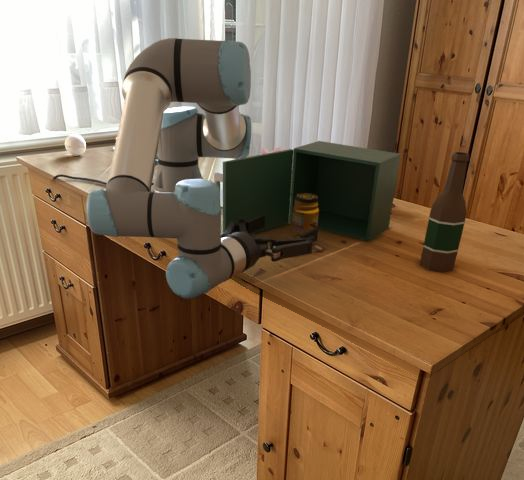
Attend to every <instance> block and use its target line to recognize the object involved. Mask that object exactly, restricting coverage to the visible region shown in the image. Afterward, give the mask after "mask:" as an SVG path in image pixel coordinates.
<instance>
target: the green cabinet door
mask: <svg viewBox="0 0 524 480" xmlns="http://www.w3.org/2000/svg"><path fill="white" fill-rule="evenodd" d="M293 152H294V149H292V148H289V149H284V150H283V149H282V151H278V152H272V153H270V152H269V153H267V154H262V155H261V154H257V155H256V154H255V155H252V156H247V157H246V158H240V159H230V160H225V161H224V160H223V161H222V173H220V172H214V173H213V182H214V183H215V184H216V185H217V186H218V187H219V190H220V191H221V183H222V206H221V216H222V233H224V232H225V231H226V229H227V227H228V225H229V224H230V222H231V221H236V223H237V224H239V219H241V218H242V219H245V222H246V221H249V220H251V219H253V218H256V217H258V216H260V215H265V227H263V228H261V229H259V230H257V231H255V232H253V233H250V234H249V235H250V236H254V235H255V234H258V233H263V232H266V231H268V230H272V229H275V228H278V227H281V226H284V225H287V224H289V223H290V222H289V213H290V198H291V182H292V167H293Z"/></svg>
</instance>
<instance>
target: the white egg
mask: <svg viewBox="0 0 524 480" xmlns="http://www.w3.org/2000/svg"><path fill="white" fill-rule="evenodd" d="M64 148H65V150H66V152H67V153H68V154H70V155H71V156H74V157H80V156H82V155H83V154H84V153H85V152H86V149H87V144H86V141H85V139H84V138H83V137H82V136H81V135H79V134H76V133H75V134H74V133H73V134H69V135H68V136H67V137H66V138H65V140H64Z"/></svg>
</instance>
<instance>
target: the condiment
mask: <svg viewBox="0 0 524 480" xmlns="http://www.w3.org/2000/svg"><path fill="white" fill-rule="evenodd" d="M294 204H295V205H294V207H293V209H292V222H290V223H291V224H290V235H289V236H290V237H289V238H300V235H302V234H304V233H306V232H308V231H310V230H312V229H313V228H317V226H318V216H319V209H318V196H316V195H314V194H309V193H300V194H297V195H296V197H295V202H294ZM317 250H323V247H321V246H319V245H317V241H315V242H314V243H313V246H312V251H314V252H316V251H317Z"/></svg>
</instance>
